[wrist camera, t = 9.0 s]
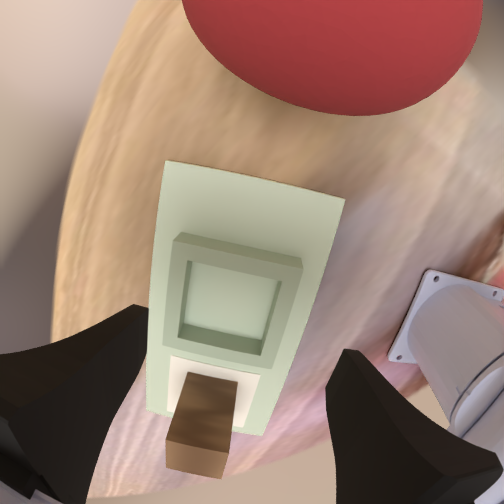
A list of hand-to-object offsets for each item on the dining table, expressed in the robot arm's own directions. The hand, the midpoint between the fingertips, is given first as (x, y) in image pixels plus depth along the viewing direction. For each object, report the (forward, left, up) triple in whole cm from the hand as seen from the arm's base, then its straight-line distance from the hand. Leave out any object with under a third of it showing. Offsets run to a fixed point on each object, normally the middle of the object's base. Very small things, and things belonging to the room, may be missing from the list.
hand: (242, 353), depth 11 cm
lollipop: (0, -12, -10) cm, 16 cm away
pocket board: (+1, +6, -10) cm, 12 cm away
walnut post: (+1, +12, -9) cm, 15 cm away
